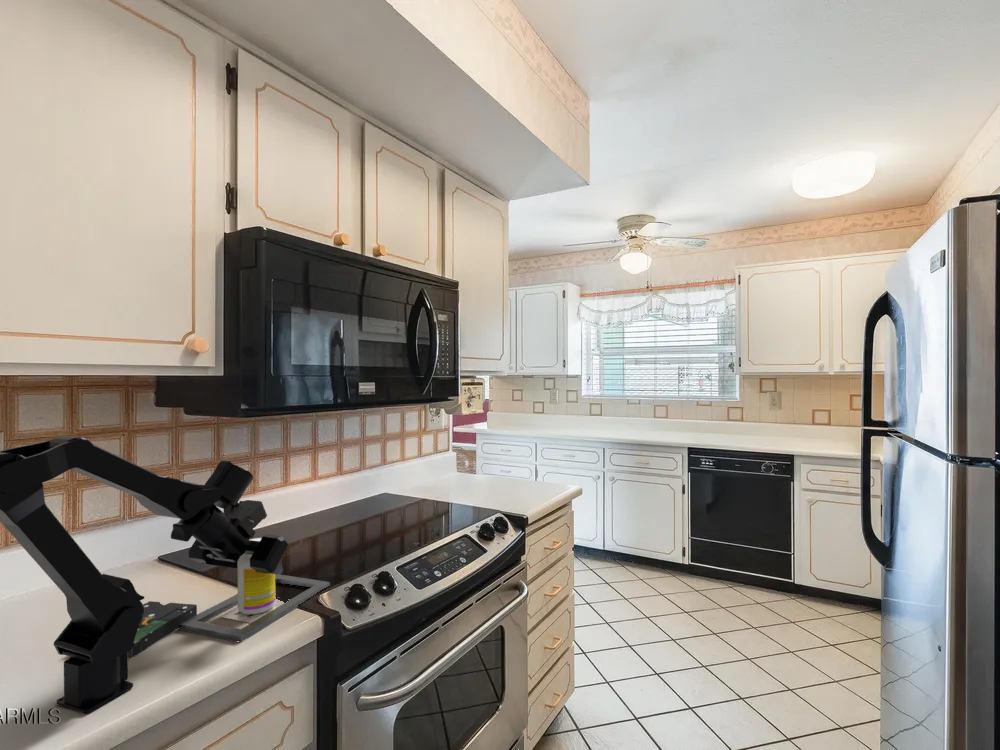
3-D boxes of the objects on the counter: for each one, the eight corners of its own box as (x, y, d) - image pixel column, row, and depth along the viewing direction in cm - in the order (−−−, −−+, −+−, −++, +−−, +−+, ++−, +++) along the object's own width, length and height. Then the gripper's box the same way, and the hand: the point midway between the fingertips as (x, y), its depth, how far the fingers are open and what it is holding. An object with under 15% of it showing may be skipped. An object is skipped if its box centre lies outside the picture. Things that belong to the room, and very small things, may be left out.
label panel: (240, 642, 89) (240, 636, 89) (178, 629, 93) (178, 624, 93) (329, 586, 112) (329, 582, 112) (276, 578, 116) (276, 574, 116)
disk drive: (148, 615, 100) (75, 656, 86) (148, 600, 100) (75, 639, 86) (198, 618, 99) (132, 661, 84) (198, 603, 99) (132, 643, 84)
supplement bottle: (282, 606, 102) (282, 540, 102) (249, 619, 97) (248, 549, 97) (263, 597, 106) (263, 534, 106) (230, 609, 101) (230, 542, 101)
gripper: (280, 493, 95) (320, 536, 105) (201, 486, 101) (246, 527, 111) (247, 551, 87) (293, 591, 98) (163, 540, 93) (215, 578, 104)
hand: (262, 569), depth 103 cm, fingers open, 9 cm apart
